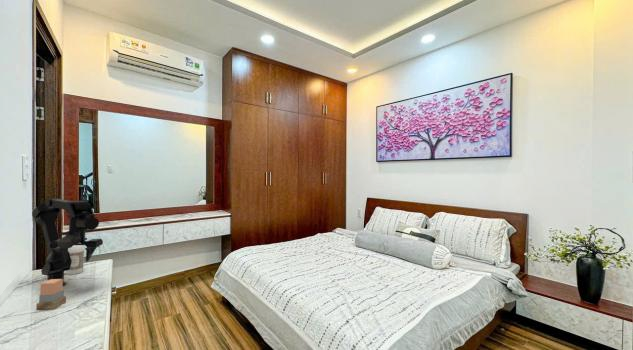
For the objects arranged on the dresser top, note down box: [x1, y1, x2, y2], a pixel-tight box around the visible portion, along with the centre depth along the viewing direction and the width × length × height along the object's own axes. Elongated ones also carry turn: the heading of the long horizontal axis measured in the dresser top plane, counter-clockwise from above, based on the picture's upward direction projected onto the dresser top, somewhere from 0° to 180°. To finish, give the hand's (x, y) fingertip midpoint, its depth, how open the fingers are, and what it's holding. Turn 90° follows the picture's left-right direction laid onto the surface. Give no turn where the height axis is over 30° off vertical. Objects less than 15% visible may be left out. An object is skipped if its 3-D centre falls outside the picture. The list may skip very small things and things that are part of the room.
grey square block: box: [38, 289, 65, 303], centre depth 105 cm, size 5×5×3 cm
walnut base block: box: [35, 295, 67, 311], centre depth 105 cm, size 6×6×3 cm
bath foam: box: [65, 245, 85, 276], centre depth 142 cm, size 7×7×20 cm
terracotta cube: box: [39, 279, 64, 295], centre depth 105 cm, size 4×4×4 cm
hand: (76, 261), depth 121 cm, fingers open, 9 cm apart
